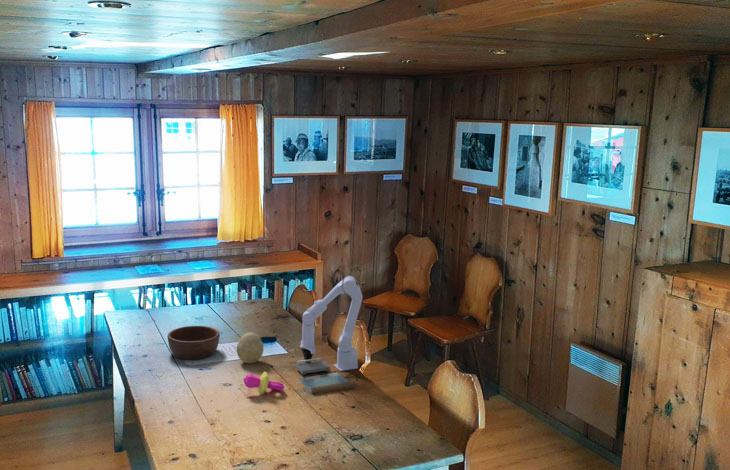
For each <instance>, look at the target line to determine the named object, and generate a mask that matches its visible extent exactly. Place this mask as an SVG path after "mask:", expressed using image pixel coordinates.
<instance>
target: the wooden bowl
mask: <svg viewBox="0 0 730 470" xmlns="http://www.w3.org/2000/svg"><path fill="white" fill-rule="evenodd" d="M220 335H221V333H220V331H219V330H218V329H217V328H215V327H211V326H207V325H187V326H181V327H178V328H174V329H173V330H171V331H169V332H168V334H167V337H166V338H167V342H168V347H169V350H170V352H171V354H172V356H174V357H176V358H178V359H180V360H186V361H188V360H189V361H192V360H193V361H194V360H195V361H196V360H202V359H207V358H209V357H211V356H213V355H214V354H215V352H216V351H217V349H218V346H219V343H220Z"/></svg>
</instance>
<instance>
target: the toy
mask: <svg viewBox="0 0 730 470" xmlns="http://www.w3.org/2000/svg"><path fill="white" fill-rule="evenodd" d="M243 382H244V385H245V386H246V388H248V389H254V388H257V392H258V395H259V396H263V395H264V394H265V392H266V391H267V389H270V390H275V391H283V390H284V389H285V385H284V383H281V382H277V381H270V377H269V374H268V372H266V371H263V373H262V374H261V375H260V376H258V375H255V374H253V373H249V374H247V375H246V376H245V377H244V379H243Z"/></svg>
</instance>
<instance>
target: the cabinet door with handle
mask: <svg viewBox="0 0 730 470" xmlns="http://www.w3.org/2000/svg"><path fill="white" fill-rule="evenodd" d="M307 361H311V362H307ZM296 362H297V363H296V364H294V365H295V368H296V369H297V371H298V372H300V373H301V375H302V376H306V374H309V373H310V374H311V373H317V372H323V371H324V372H325V373H327V372H329V371H331V366H330V365H328V363H326V362H325V360H323V358H322V357H316V358H311V359H308V360H304V359H302V360H297V361H296ZM305 362H307V363H305Z"/></svg>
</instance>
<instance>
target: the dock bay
mask: <svg viewBox="0 0 730 470" xmlns="http://www.w3.org/2000/svg"><path fill="white" fill-rule="evenodd" d="M296 379H297V380H298V382H300V383H301V385H302V386H303V387H304V388H305V389H306V390H307V391H308V392H309V394H311V395H315V394H322V393H326V392H334V391H340V390H347V389H352V388H354V387H355V385H354V384H355V383H354V382H355V381H353V380H350V381H349V380H348V379H347V378H346V377H345V376H343V375H342V374H341V373H339V372H332V373H330V372H329V373H325V374H324V375H323V374H318V375H311V376H306V377H304V376H303V377H298V378H296Z"/></svg>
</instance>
